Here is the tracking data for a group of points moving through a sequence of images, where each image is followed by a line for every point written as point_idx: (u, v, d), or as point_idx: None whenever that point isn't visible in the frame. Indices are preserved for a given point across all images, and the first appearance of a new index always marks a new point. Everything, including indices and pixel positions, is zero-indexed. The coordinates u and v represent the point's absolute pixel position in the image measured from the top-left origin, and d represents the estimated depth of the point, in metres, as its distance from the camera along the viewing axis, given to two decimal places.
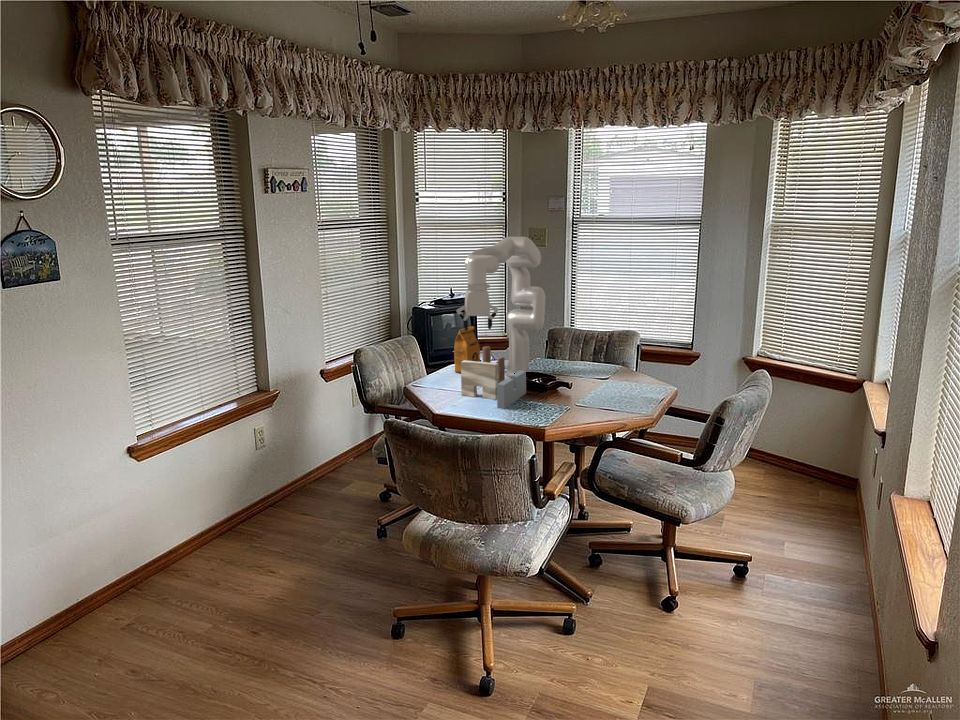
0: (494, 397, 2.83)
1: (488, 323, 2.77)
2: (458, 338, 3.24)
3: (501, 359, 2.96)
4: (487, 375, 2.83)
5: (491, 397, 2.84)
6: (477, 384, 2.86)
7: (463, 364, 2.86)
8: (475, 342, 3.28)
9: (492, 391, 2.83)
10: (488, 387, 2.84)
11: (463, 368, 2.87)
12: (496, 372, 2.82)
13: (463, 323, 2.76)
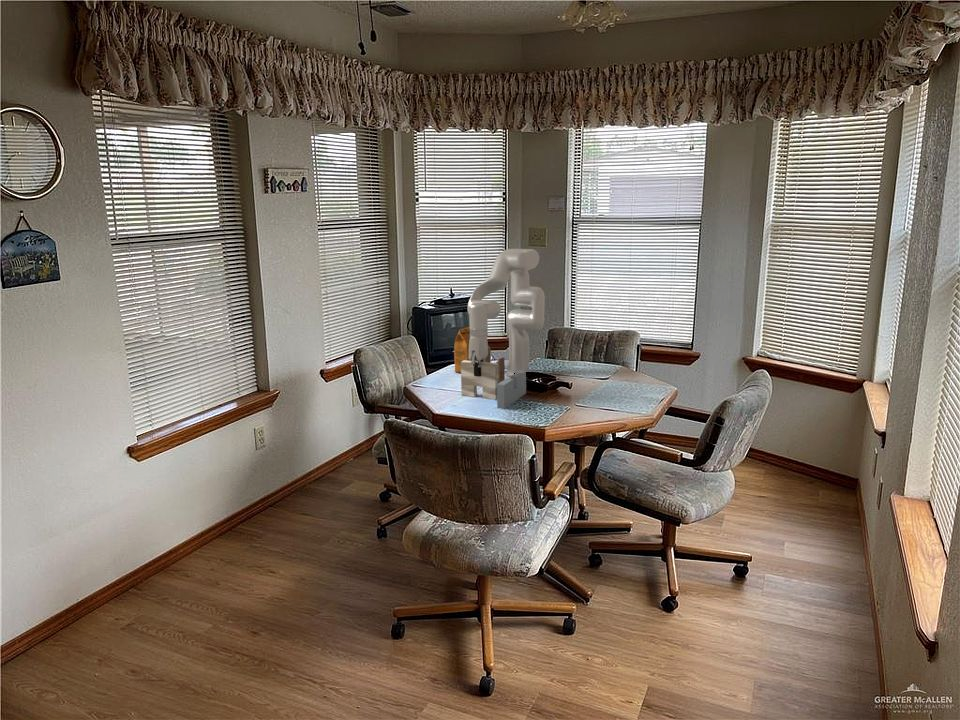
0: (494, 397, 2.83)
1: None
2: (458, 338, 3.24)
3: (501, 359, 2.96)
4: (487, 375, 2.83)
5: (491, 397, 2.84)
6: (477, 384, 2.86)
7: (463, 364, 2.86)
8: None
9: (492, 391, 2.83)
10: (488, 387, 2.84)
11: (463, 368, 2.87)
12: (496, 372, 2.82)
13: (475, 370, 2.83)
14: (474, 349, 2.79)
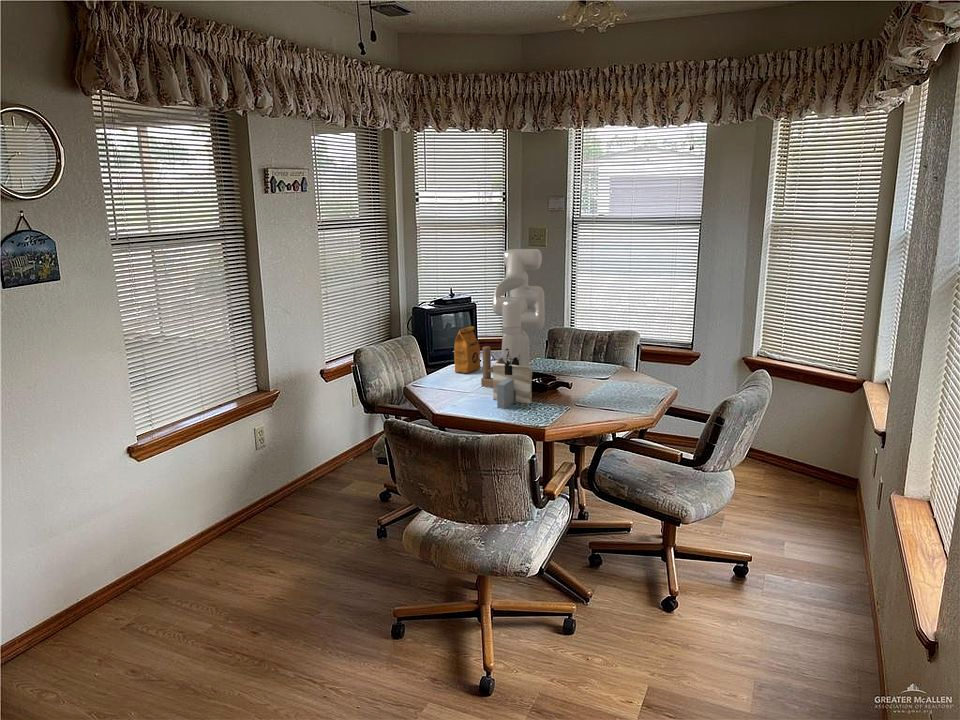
0: (527, 401, 2.77)
1: None
2: (458, 338, 3.24)
3: (501, 359, 2.96)
4: (520, 378, 2.76)
5: (524, 401, 2.78)
6: None
7: (495, 367, 2.80)
8: (475, 342, 3.28)
9: (525, 395, 2.77)
10: (521, 391, 2.78)
11: (495, 372, 2.81)
12: (530, 375, 2.76)
13: (506, 369, 2.75)
14: (507, 347, 2.72)
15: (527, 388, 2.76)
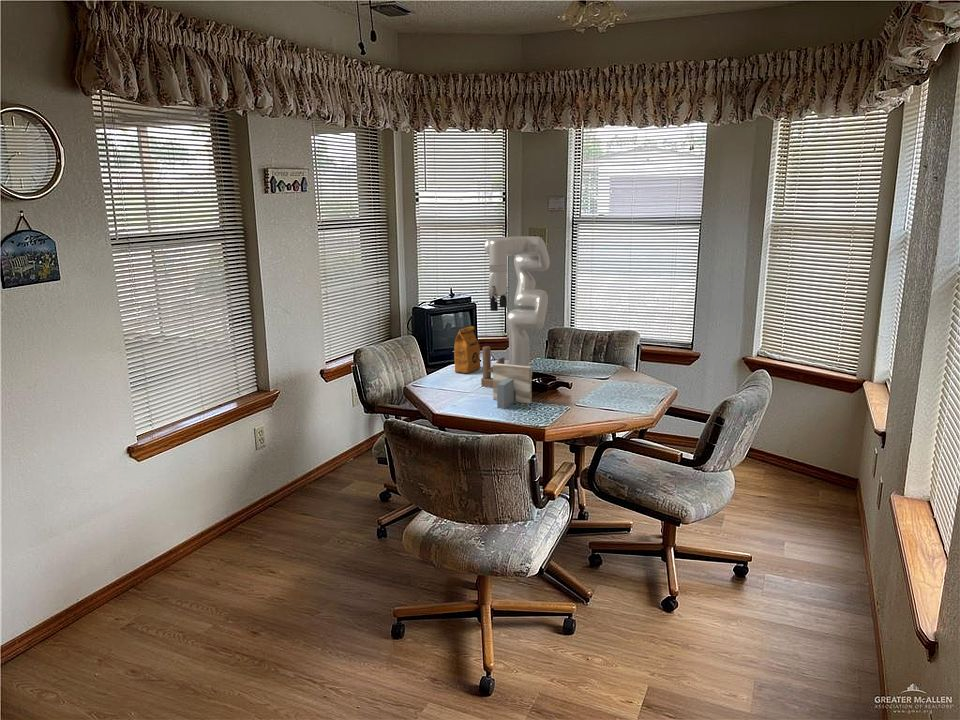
0: (527, 401, 2.77)
1: (503, 302, 2.92)
2: (458, 338, 3.24)
3: (501, 359, 2.96)
4: (520, 378, 2.76)
5: (524, 401, 2.78)
6: None
7: (495, 367, 2.80)
8: (475, 342, 3.28)
9: (525, 395, 2.77)
10: (521, 391, 2.78)
11: (495, 372, 2.81)
12: (530, 375, 2.76)
13: (492, 305, 2.83)
14: (494, 284, 2.81)
15: (527, 388, 2.76)
